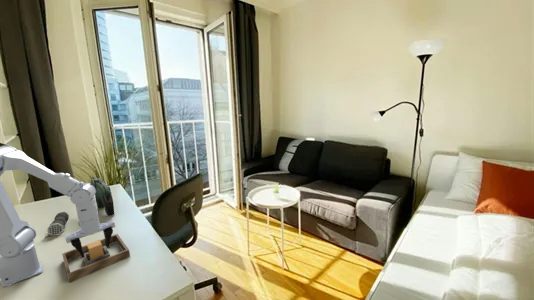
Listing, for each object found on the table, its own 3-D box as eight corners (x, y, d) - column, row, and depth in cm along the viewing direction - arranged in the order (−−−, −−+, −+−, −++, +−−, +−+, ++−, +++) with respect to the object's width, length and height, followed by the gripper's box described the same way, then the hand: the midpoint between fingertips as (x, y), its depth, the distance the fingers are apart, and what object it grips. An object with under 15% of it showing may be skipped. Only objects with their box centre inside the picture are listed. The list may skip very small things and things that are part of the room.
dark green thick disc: (94, 207, 135) (87, 172, 131) (107, 203, 140) (101, 170, 136) (105, 218, 122) (97, 180, 118) (119, 213, 127) (113, 176, 123)
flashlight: (56, 222, 120) (54, 212, 119) (70, 219, 123) (68, 209, 122) (48, 237, 107) (46, 225, 106) (64, 233, 110) (61, 222, 109)
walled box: (69, 282, 79) (67, 274, 79) (63, 260, 90) (62, 253, 90) (130, 256, 91) (129, 249, 91) (118, 240, 103) (117, 233, 102)
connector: (91, 263, 88) (88, 249, 87) (89, 258, 91) (86, 244, 90) (104, 258, 91) (101, 244, 90) (102, 253, 94) (99, 239, 93)
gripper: (109, 207, 95) (115, 239, 98) (61, 221, 85) (69, 256, 88) (114, 213, 90) (120, 246, 93) (63, 228, 80) (72, 265, 83)
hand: (95, 251), depth 90 cm, fingers open, 7 cm apart
